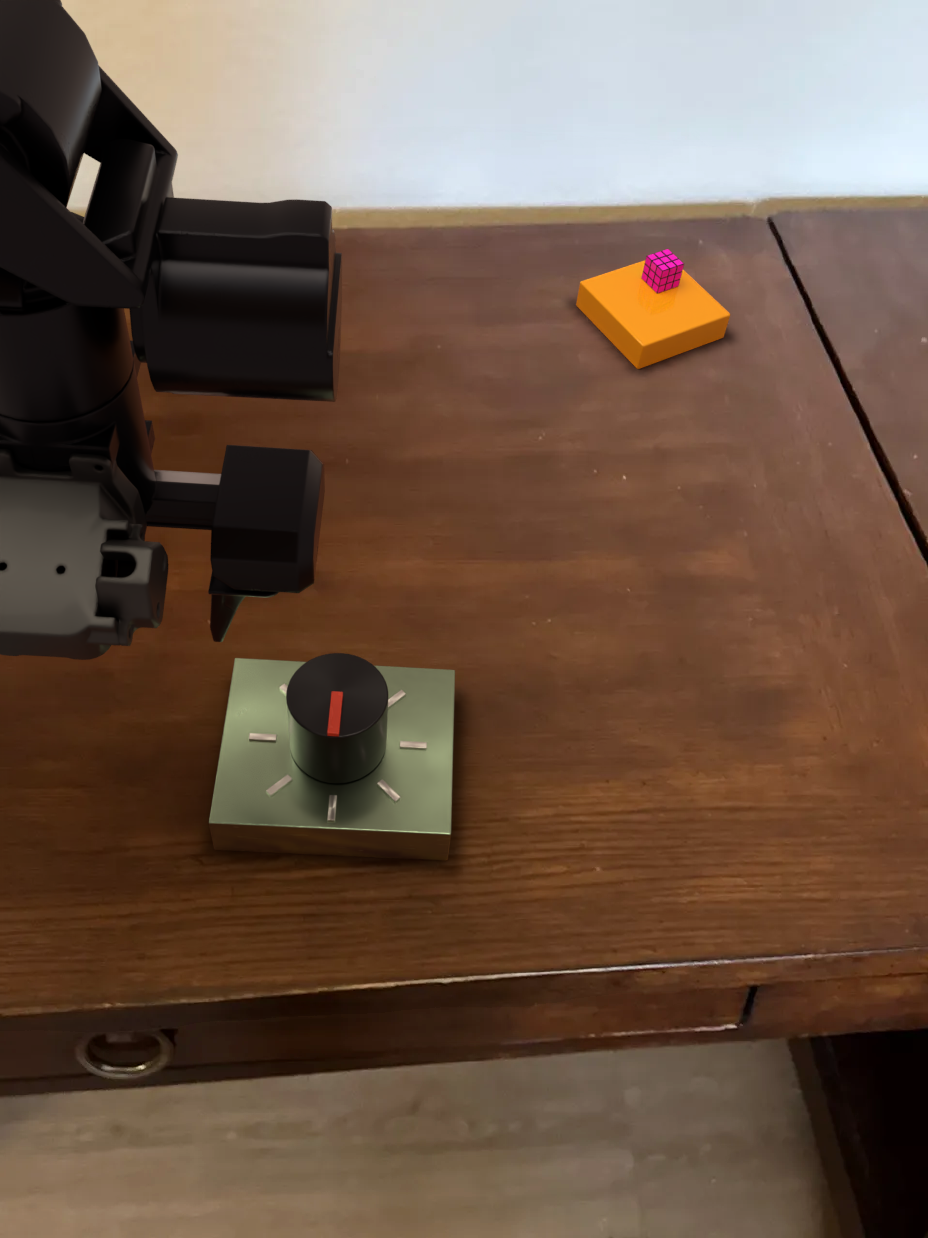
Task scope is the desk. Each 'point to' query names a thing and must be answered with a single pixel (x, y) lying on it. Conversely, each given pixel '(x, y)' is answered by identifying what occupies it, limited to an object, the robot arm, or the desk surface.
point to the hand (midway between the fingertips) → (118, 628)
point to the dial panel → (335, 812)
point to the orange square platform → (652, 309)
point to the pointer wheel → (337, 717)
